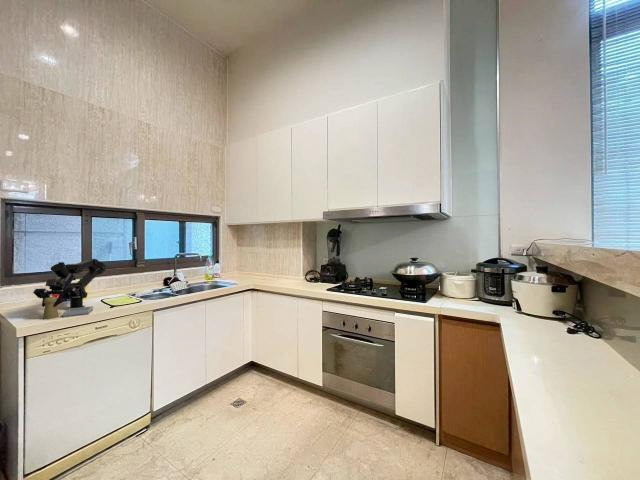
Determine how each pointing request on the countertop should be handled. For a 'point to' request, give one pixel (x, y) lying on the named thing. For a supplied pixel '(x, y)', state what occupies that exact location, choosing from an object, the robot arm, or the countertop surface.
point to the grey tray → (78, 311)
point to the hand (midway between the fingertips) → (48, 306)
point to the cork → (50, 308)
